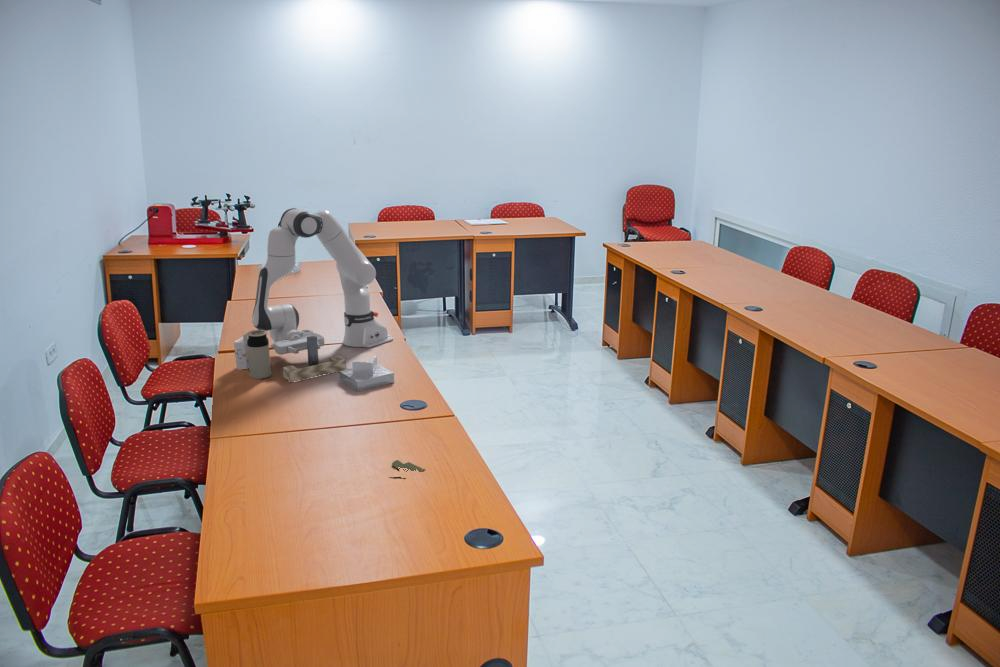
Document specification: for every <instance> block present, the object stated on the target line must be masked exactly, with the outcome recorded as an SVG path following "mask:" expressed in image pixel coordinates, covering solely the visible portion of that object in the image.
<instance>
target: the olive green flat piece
mask: <svg viewBox="0 0 1000 667" xmlns="http://www.w3.org/2000/svg"><path fill="white" fill-rule="evenodd" d="M391 465H392V466H393V467H394V468H395V469H396V468H398V467H400V468H407V469H408V470H409V469H410V470H411V471H414V470H415V471H416V469H417V470H418V471H419V472H422V471H425V470H426V468H425V469H424V468H422V467H420V466H418V465H416V464H413V463H412V462H410V461H408V462H405V463H403V462H401V461H400V460H398V459H397V460H393V461H392V463H391ZM400 468H399V469H400ZM422 469H423V470H422ZM403 470H404V469H403ZM405 470H406V469H405ZM405 470H404V471H405ZM408 470H407V471H408ZM407 471H406V472H407Z"/></svg>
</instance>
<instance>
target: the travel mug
mask: <svg viewBox="0 0 1000 667" xmlns="http://www.w3.org/2000/svg"><path fill="white" fill-rule="evenodd" d="M252 330H253V331H252ZM252 330H250V331H248V332H247V335H248V337H249V338H248V340H247V345H248V357H249V376H250V377H249V378H252V379H254V378H255V380H259V379H260V380H262V378H264V379H266V378H269V377H270V376H272V369H271V359H270V358H271V355H270V344H269V338H268V337H267V334H268V331H265V330H258V329H255V330H254V329H252Z"/></svg>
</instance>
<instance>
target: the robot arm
mask: <svg viewBox="0 0 1000 667" xmlns="http://www.w3.org/2000/svg"><path fill="white" fill-rule="evenodd" d="M277 226H278V227H274V228H272V229H271V230H270V231H269V233H268V239H267V251H266V252H267V259H266V262H265V265H264V267H262V268H261V269H260V271H259V274H258V279H257V284H256V285H257V286H256V295H255V303H254V307H253V311H252V312H253V313H252V316H251V318H252V324H253V326H254V328H256V330H265V331H267V332H268V334H269V337H270V338H271V340H272V341H273V342H274V343H272V344H271V345H270V348H271V349H273V350H274V351H275V353H276V354H278V355H279V356H280V355H286V354H295V355H296V354H299V352H302V351H305V350H307V337H309V336H316V337H317V344H318V350H319V349H321V347H324V345H325V337H324V336H323V335H320V334H319V333H316V332H314V331H313V330H311V329H303V330H301V329H298V328H299V324H300V314H299V312H298V310H297V309H296V307H295V306H294V305H293V304H291V303H284V304H283V303H282V304H275V305H269V299H270V298H269V296H270V289H271V287H272V285H274V284H275V283H276V282H277V281H278V280H282V279H284V278H285V277H287V276H288V275H290V273H292V272H293V270H294V269H295V268H296V260H297V259H296V258H297V256H296V242H297V240H298V239H299V238H306V239H307V238H311V237H314V236H316V237H317V238H318V240H319V241H320V242H321V245H322V246H323V247H324V248H325V250H326V251H327V253H328V254H329V256H330V257H331V258H332V259H333V260H334V261H335V262H336V263H335V264H336V270H337V273H338V274H339V278H340V283H341V288H342V291H343V292H342V293H343V297H344V298H343V299H344V300H343V301H344V310H345V311H344V314H343V315H344V317H343V320H344V335H343V340H342V344H343V345H344V346H347V347H354V348H368V349H370V348H372V347H376V346H378V345H382V344H385V343H388V342H392V341H394V338H393V336H392V335H391V334H389V332H388V330H387V327H386V326H385V324H383V323H382V322H381V321H379V320H377V319H376V318H377V317H378V316H379V313H378V312H377V311H373V310H371V300H370V299H371V297H370V295H371V294H370V292H369V290H368V287H367V285H370V284H372V283H373V282H374V281H375V279H376V276H377V271H376V268H375V266H374V265H373V264H372V263H371V262H370V260H369V259H368V258H367V257H366V255H365V254H364V253H363V252H362V250H360V248H359V247H358V246H357V245H356V244H355V243H354V242H353V240H352V239H351V237H350V236H349V235H348V232H346V230H345V229H344V227H343V225H342V224H341V223H340V222H339V220H338V219H337V218H336V217H335V216H334V215H333V214H332V213H331V212H330V211H328V210H326V209H321V210H319V211H317V212H315V213H313V212H311V211H307V210H304V209H300V208H294V207H293V208H289V209H287V210H285V211H283V213H282V214H281V217H280V220H279V222H278V224H277ZM268 305H269V306H268ZM375 317H376V318H375Z"/></svg>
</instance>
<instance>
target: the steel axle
mask: <svg viewBox="0 0 1000 667" xmlns="http://www.w3.org/2000/svg"><path fill="white" fill-rule="evenodd" d="M306 350H307V361H308V362H307V363H308V365H307V367H309V366H313V365H318V364H320V363H319V361H320V360H319V349H318V344H317V337H316V336H309V337H307V349H306Z"/></svg>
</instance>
